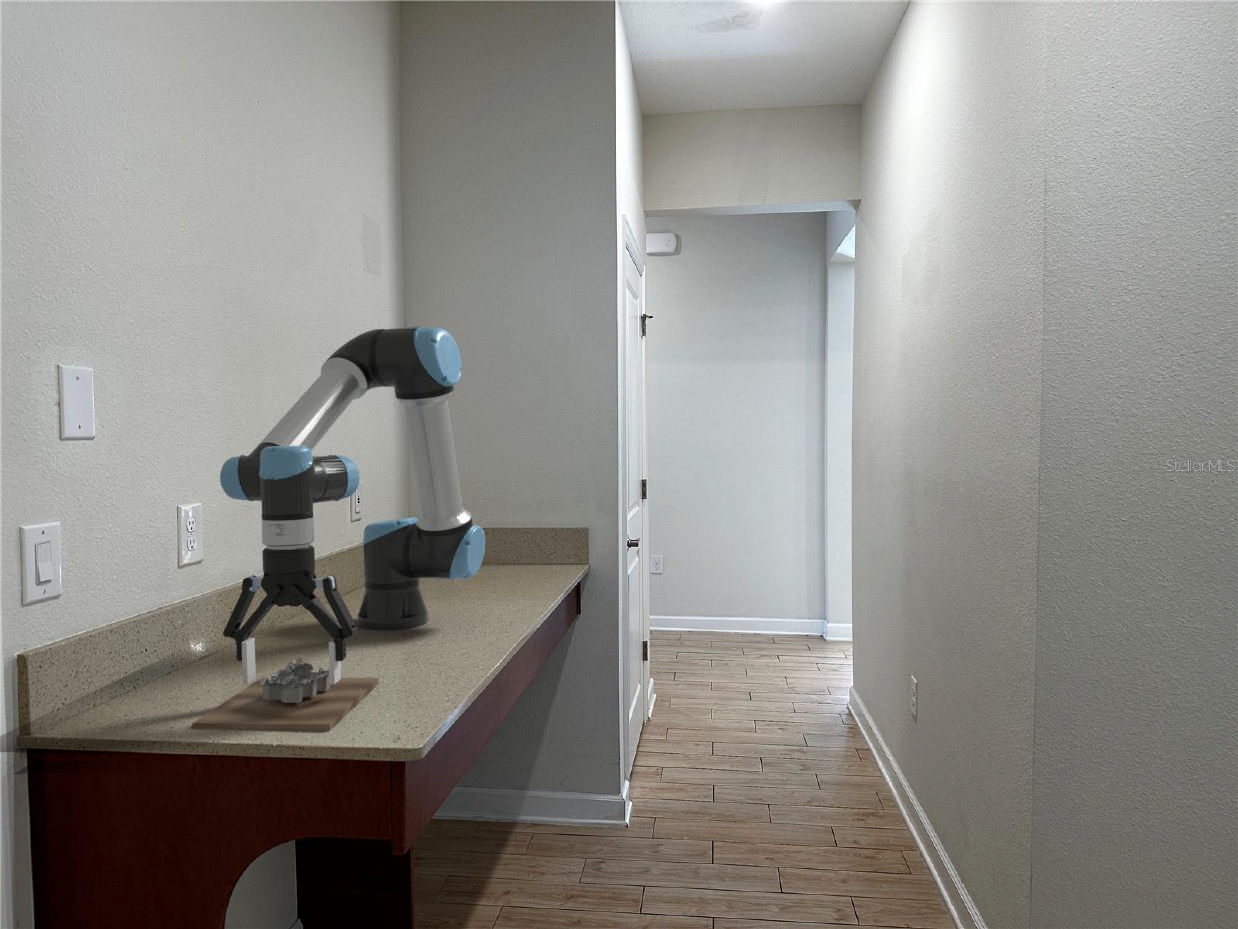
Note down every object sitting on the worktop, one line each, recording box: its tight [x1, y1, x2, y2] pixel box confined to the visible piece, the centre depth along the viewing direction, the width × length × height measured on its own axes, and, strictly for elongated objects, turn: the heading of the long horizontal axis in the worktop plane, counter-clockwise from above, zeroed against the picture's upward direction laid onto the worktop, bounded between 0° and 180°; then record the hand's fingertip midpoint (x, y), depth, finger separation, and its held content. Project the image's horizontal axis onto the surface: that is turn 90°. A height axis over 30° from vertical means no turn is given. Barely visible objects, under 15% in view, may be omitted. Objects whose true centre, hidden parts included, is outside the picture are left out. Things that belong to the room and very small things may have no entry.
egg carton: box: [257, 657, 330, 703], centre depth 133 cm, size 11×8×4 cm
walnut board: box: [191, 677, 380, 732], centre depth 133 cm, size 22×20×1 cm
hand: (292, 681), depth 133 cm, fingers open, 13 cm apart
